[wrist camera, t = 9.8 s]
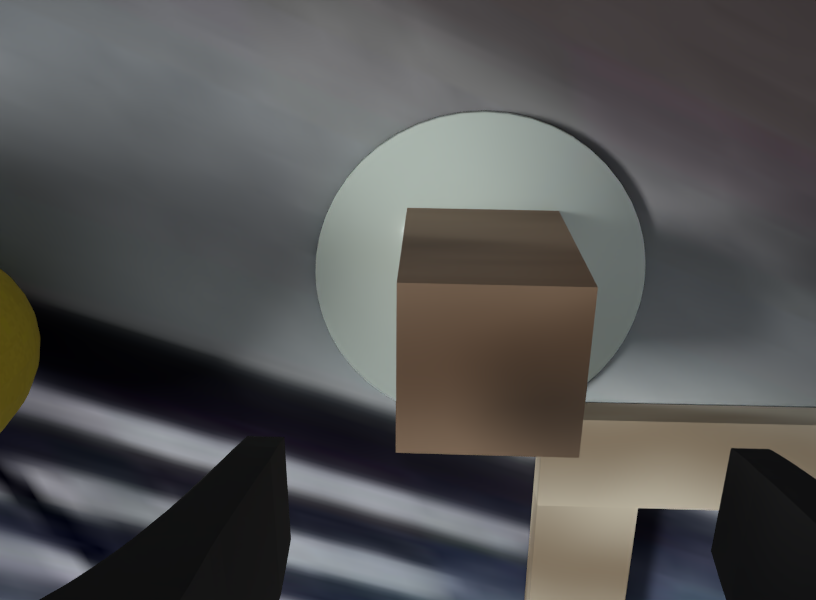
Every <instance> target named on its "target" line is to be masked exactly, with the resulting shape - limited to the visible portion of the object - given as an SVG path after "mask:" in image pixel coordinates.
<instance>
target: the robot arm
mask: <svg viewBox="0 0 816 600" xmlns="http://www.w3.org/2000/svg"><path fill="white" fill-rule="evenodd" d="M290 541H291V535H290V519H289V504H288V489H287V473H286V458H285V442H284V437H254V436H247V437H246V438H245V439H244V440H243V441H242V442H241V443H240V444H238V445H237V446H236V447H235V448H234V449H233V450H232V451H231V452H230V453H229V454H228V455H227V456H226V457H225V458H224V459H223V460H221V461H220V462H219V463H218V464H217V465H216V466H215V467H214V468H213V469H212V470H211V471H210V472H209V473H208V474H207V475H206V476H205V477H204V478H203V479H202V480H201V481H200V482H198V483H197V484H196V485H195V486H194V487H193V488H192V489H191V490H190V491H189V492H187V493H186V494H185V495H184V496H183V497H182V498H181V499H180V500H179V501H178V502H176V503H175V504H174V505H173V506H172V507H171V508H170V509H169V510H167V511H166V512H165V513H164V514H162V515H161V516H160V517H159V518H158V519H156V520H155V521H154V522H153V523H151V524H150V525H149V526H148V527H147V528H145V529H144V530H143V531H142V532H140V533H139V534H138V535H137V536H136V537H134V538H133V539H132V540H130V541H129V542H128V543H126V544H125V545H124V546H122V547H121V548H120V549H118V550H117V551H116V552H114V553H113V554H111V555H110V556H109V557H107V558H106V559H104V560H103V561H101V562H100V563H98V564H97V565H95V566H94V567H92V568H91V569H89V570H88V571H86V572H85V573H83V574H82V575H80V576H79V577H77V578H76V579H74V580H72V581H71V582H69V583H68V584H66V585H64V586H62V587H61V588H59V589H57V590H56V591H54V592H52V593H50V594H49V595H47V596H45V597H43V598H42V599H40V600H279V599H280V595H281V590H282V585H283V580H284V574H285V569H286V564H287V558H288V552H289V546H290ZM711 552H712V555H713V559H714V562H715V565H716V569H717V572H718V576H719V579H720V582H721V585H722V588H723V591H724V594H725V597H726V600H816V479H815V478H814V477H812V476H811V475H809V474H808V473H806V472H805V471H803V470H802V469H801V468H799V467H798V466H796V465H795V464H793V463H792V462H790V461H789V460H787V459H785V458H784V457H782V456H781V455H779V454H777V453H776V452H774V451H772V450H770V449H749V448H731V450H730V455H729V460H728V466H727V471H726V476H725V481H724V487H723V492H722V497H721V502H720V507H719V513H718V518H717V523H716V528H715V534H714V539H713V544H712V549H711Z"/></svg>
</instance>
